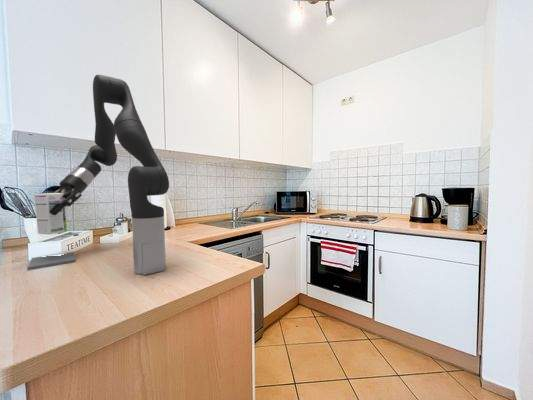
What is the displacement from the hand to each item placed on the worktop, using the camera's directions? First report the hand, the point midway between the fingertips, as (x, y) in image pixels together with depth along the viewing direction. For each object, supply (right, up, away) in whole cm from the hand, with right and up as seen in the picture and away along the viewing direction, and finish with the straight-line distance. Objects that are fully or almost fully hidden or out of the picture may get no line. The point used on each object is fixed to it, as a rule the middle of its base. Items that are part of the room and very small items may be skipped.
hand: (45, 213), depth 81 cm
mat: (+1, -18, +2) cm, 18 cm away
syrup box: (0, -7, +2) cm, 8 cm away
